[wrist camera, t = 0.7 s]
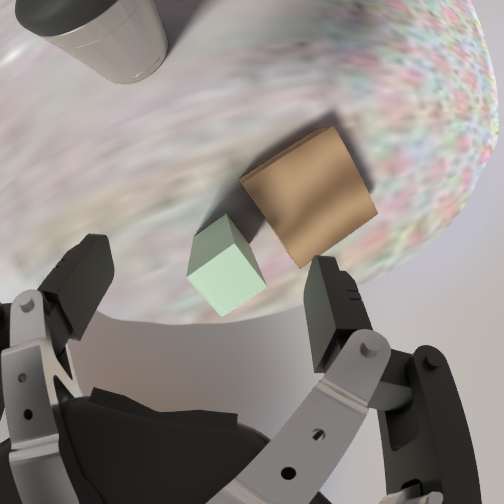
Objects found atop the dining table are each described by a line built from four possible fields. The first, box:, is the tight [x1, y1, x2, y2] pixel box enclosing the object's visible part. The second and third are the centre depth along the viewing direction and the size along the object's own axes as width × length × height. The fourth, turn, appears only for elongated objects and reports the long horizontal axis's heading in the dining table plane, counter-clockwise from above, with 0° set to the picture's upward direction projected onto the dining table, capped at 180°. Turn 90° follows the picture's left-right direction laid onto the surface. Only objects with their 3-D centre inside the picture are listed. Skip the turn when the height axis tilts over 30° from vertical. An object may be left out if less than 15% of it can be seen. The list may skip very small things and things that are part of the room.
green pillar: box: [186, 213, 267, 317], centre depth 29 cm, size 5×5×12 cm
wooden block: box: [239, 126, 378, 269], centre depth 32 cm, size 12×12×5 cm
